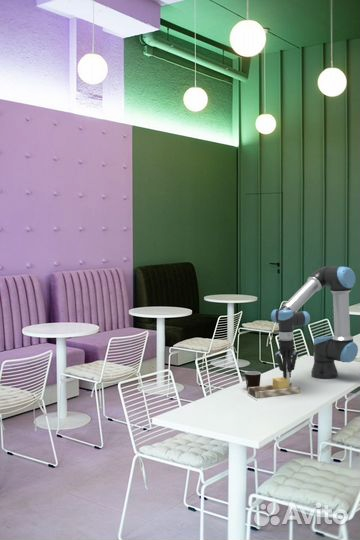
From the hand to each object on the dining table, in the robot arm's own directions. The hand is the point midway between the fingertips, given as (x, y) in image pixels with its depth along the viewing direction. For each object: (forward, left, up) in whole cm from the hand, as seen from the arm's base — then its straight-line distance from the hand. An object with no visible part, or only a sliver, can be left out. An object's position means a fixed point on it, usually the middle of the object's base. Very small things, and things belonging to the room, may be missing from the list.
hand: (287, 383), depth 326 cm
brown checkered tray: (+8, 0, -5) cm, 9 cm away
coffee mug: (+13, -14, -6) cm, 20 cm away
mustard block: (+4, 0, -4) cm, 6 cm away
